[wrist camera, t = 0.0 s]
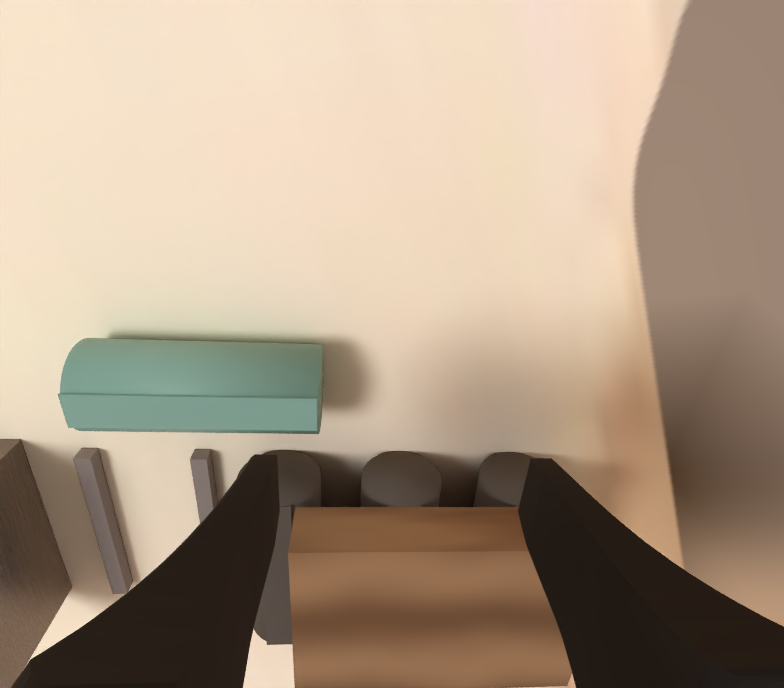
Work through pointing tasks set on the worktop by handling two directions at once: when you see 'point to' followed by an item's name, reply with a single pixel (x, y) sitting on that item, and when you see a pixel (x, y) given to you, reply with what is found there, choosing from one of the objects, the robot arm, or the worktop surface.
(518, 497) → the roller bed
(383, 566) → the slab
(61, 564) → the bar
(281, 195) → the worktop surface
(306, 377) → the roller
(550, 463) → the robot arm
